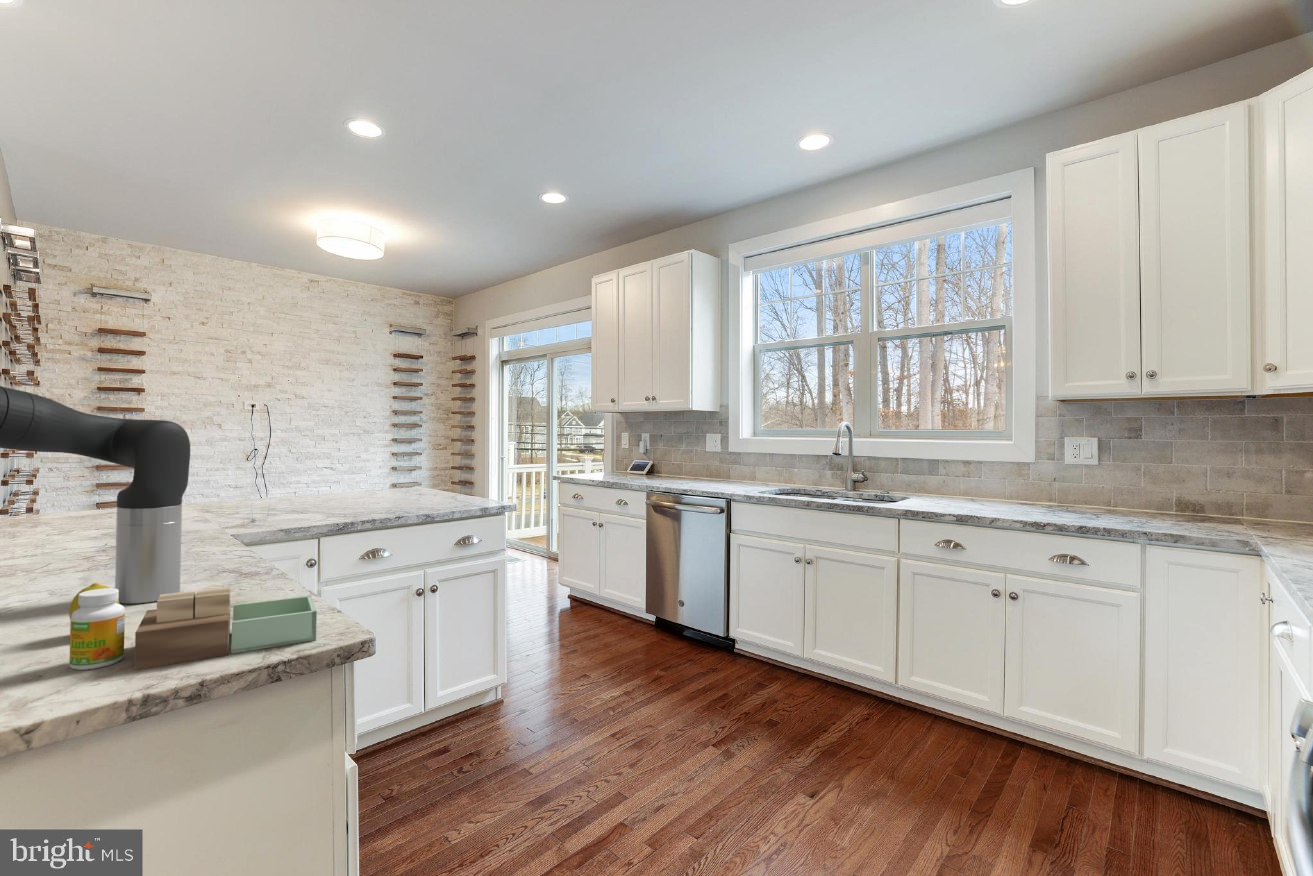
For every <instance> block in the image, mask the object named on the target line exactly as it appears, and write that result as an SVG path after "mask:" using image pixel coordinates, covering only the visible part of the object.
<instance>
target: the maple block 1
mask: <svg viewBox="0 0 1313 876" xmlns="http://www.w3.org/2000/svg"><path fill="white" fill-rule="evenodd" d="M196 593H197V590H193V591H192V590H191V591H183V592H181V591H180V592H179V593H170V594H161V595H160V597H159V599H158V600H157V601H156V609H157V623H159V622H167V621H175V620H183V619H191V618H193V616H194V613H195V596H196Z"/></svg>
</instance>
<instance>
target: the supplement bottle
mask: <svg viewBox="0 0 1313 876" xmlns="http://www.w3.org/2000/svg"><path fill="white" fill-rule="evenodd" d="M118 598H119V590H118V589H115V587H114V588H112V587H109V588H104V589H95V590H90V591H85V592H82V593H80V594H79V595H78V603H79V604H78V605H79V606H81V607H80V609H78V610H76V611H74V612H73V613H72V615H71V620H69V621H70V624H69V625H70V626H69V628H70V631H69V632H70V633H69V668H71V669H73V670H78V671H83V670H85V671H86V670H93V669H99V668H103V667H108V666H111V665H114V664H116V663H119V662H120V661H121V660H122V659H123V658H124V656H125V654H124V653H125V621H126V619H125V618H126V610H125V606H124V605H123V604H121V603H119V604H116V601H117V600H118Z"/></svg>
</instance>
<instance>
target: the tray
mask: <svg viewBox="0 0 1313 876" xmlns="http://www.w3.org/2000/svg"><path fill="white" fill-rule="evenodd" d="M315 605H316V604H315V603H314V599H313V597H312V595H302V596H295V597H285V598H279V599H270V600H260V601H259V600H258V601H251V602H244V603H242V602H241V603H234V604H233V607H232V612H233V613H232V620H231V643H230V645H231V647H230V649H231V652H230V654H237V653H243V652H244V653H245V652H249V651H256V650H261V649H262V650H263V649H268V648H275V647H280V646H281V647H282V646H288V645H295V644H302V643H307V642H312V641H317V609H316V606H315Z"/></svg>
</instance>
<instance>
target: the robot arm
mask: <svg viewBox="0 0 1313 876" xmlns="http://www.w3.org/2000/svg"><path fill="white" fill-rule="evenodd" d="M0 449H6V450H7V449H8V450H14V451H25V452H36V453H63V454H72V455H76V456H77V455H78V456H83V457H87V458H92V459H96V460H100V461H104V462H108V463H112V464H115V465H120V466H123V467H127V468H132V469H133V477H132V481H131V482H130V484H129V485H128V486H127V487H126V488H123V489H122V490H120V491H118V493H117V496H116V527H115V528H116V530H115V531H116V534H115V535H116V536H115V574H114V575H115V576H114V578H115V579H114V582H115V583H114V589H118V590H119V598H118V600H119V604H127V605H128V604H131V605H132V604H143V603H151V602H157V600H158V599H159V597H160V595H161V594H170V593H179V592H181V571H182V570H181V569H182V568H181V567H182V566H181V563H182V561H181V559H182V558H181V557H182V516H183V515H182V512H183V510H182V509H183V508H182V507H183V506H182V505H183V504H182V503H183V496H184V495H185V492H186V489H187V488H188V484H189V475H190V462H191V441H190V438H189V435H188V432H187V431H186V430H185V428H184V427H183V426H181V424H178V423H176V422H174V421H170V420H161V419H134V418H133V419H131V418H130V419H129V418H128V419H127V418H118V417H112V416H104V415H99V414H98V415H97V414H92V413H87V412H82V411H79V410H77V409H74V408H71V407H69V406H67V405H66V404H63V403H61V402H58V401H55V400H53V399H51V398H48V397H45V396H42V395H39V394H35V393H33V392H28V391H24V390H19V389H15V388H10V387H6V386H1V385H0Z"/></svg>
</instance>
